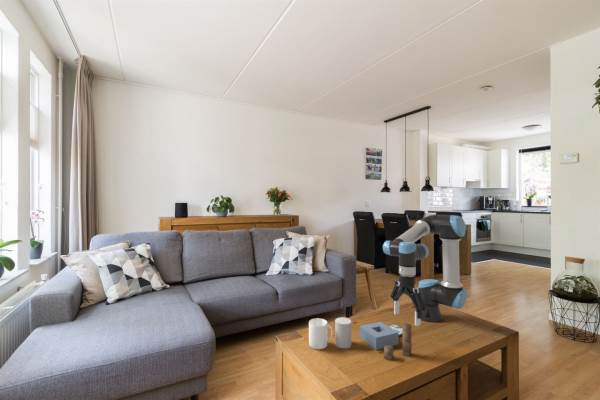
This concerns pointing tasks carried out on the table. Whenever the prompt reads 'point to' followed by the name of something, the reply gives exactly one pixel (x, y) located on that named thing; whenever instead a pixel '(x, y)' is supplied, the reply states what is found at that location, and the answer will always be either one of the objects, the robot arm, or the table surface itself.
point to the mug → (319, 333)
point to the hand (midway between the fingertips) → (406, 319)
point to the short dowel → (388, 352)
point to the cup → (343, 332)
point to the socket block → (379, 335)
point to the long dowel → (406, 340)
